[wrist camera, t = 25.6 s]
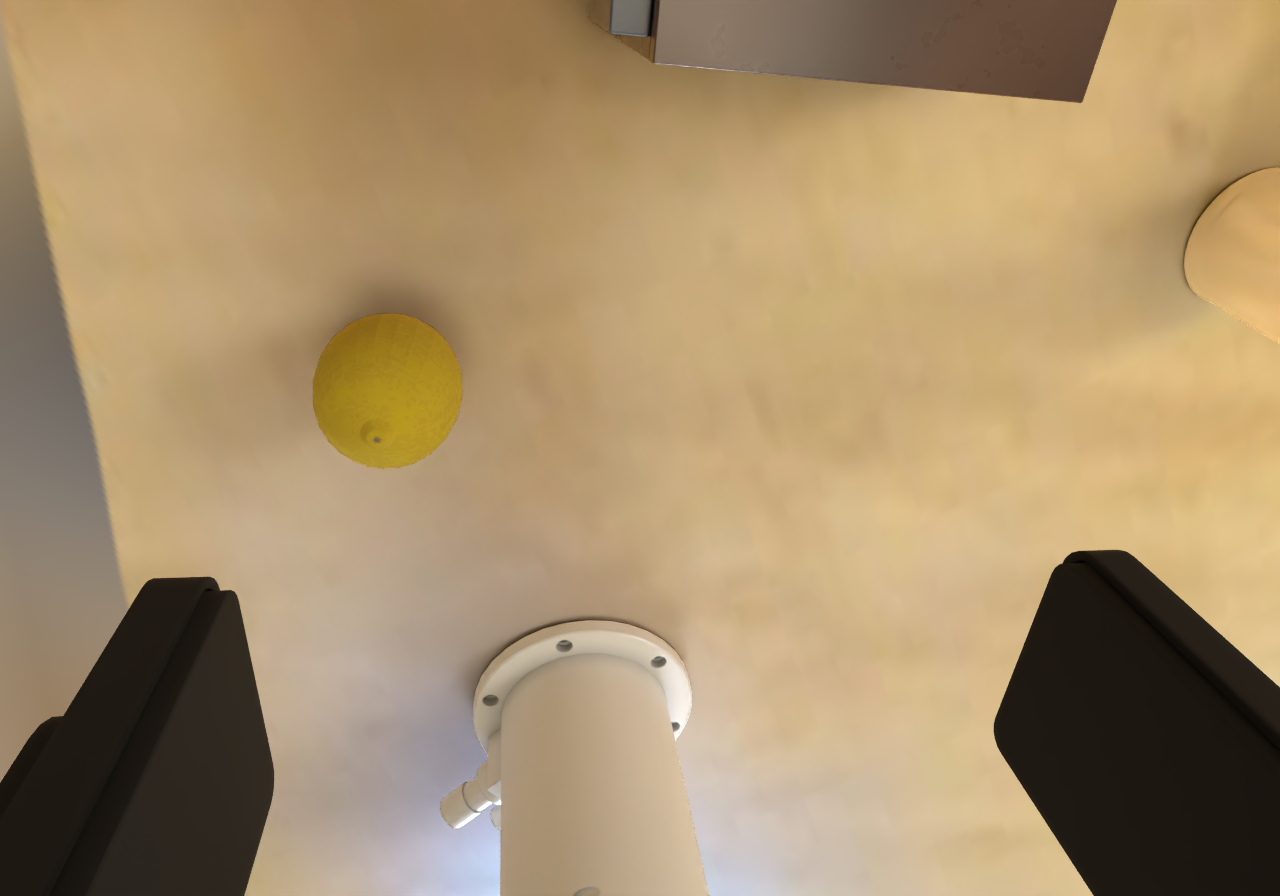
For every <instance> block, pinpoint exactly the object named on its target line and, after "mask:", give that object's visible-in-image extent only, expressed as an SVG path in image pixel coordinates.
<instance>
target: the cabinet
mask: <svg viewBox="0 0 1280 896" xmlns="http://www.w3.org/2000/svg"><path fill="white" fill-rule="evenodd" d="M1116 2H1117V0H653V7H652V18H651V29H650V35H649V37H639V36H629V35H618V39H619V40H620V41H621V42H623V43H624V44H626V45H627V46H629V47H630V48H632V49H633V50H635V51H636V52H638V53H639V54H641V55H642V56H644V57H645V58H647V59H648V60H649V61H651V62H652V63H654V64H661V65H672V66H683V67H694V68H705V69H716V70H727V71H738V72H749V73H760V74H771V75H782V76H793V77H803V78H814V79H825V80H836V81H847V82H858V83H869V84H880V85H891V86H902V87H913V88H924V89H935V90H945V91H956V92H967V93H978V94H989V95H1000V96H1011V97H1022V98H1033V99H1044V100H1055V101H1066V102H1077V103H1081V102H1082V101H1083V99H1084V96H1085V93H1086V90H1087V87H1088V84H1089V81H1090V78H1091V75H1092V72H1093V69H1094V66H1095V63H1096V60H1097V57H1098V55H1099V52H1100V49H1101V46H1102V43H1103V40H1104V37H1105V34H1106V31H1107V28H1108V25H1109V22H1110V19H1111V16H1112V13H1113V10H1114V7H1115V4H1116Z"/></svg>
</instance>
